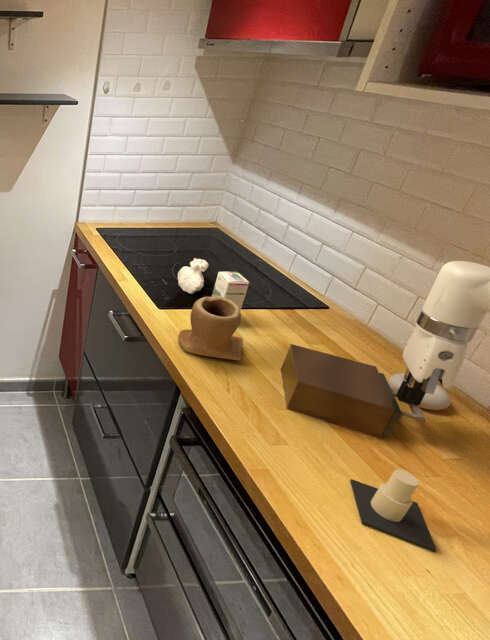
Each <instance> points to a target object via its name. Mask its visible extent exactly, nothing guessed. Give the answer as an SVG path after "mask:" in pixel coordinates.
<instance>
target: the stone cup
mask: <svg viewBox="0 0 490 640" xmlns="http://www.w3.org/2000/svg"><path fill="white" fill-rule="evenodd" d="M241 321H242V313H241V310H240V308H239V307H238V306H237V305H236V304H235V303H234V302H233V301H231V300H229V299H226V298H223V297H218V296H214V297H212V296H203V297H200V298H199V299H198V298H197V300H196V301H195V302H194V303H193V305H192V308H191V312H190V327H191V329H182V330H180V331H179V333H178V343H179V345H180V346H181V347H182V348H183V349H184V350H185V351H186V352H188V353H191V354H194V355H199V356H204V357H210V358H217V359H224V360H232V361H241V359H242V348H243V346H244V339H243V338H242V337H241V336H235V335H234V333H235V332H236V331H237V330H238V328H239V326H240V324H241Z"/></svg>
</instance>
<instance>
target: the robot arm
mask: <svg viewBox="0 0 490 640" xmlns="http://www.w3.org/2000/svg"><path fill="white" fill-rule="evenodd" d="M487 313H490V266H488V265H485V264H481V263H477V262H472V261H468V260H467V261H466V260H451V261H448V262H446V263H445V264H443V265H442V267H441V268H440V270H439V272H438V275H437V276H436V279H435V280H434V282H433V285H432V287H431V289H430V291H429V293H428V296H427V298H426V299H425V302H424V304H423V306H422V308H421V310H420V312H419V313H418V314H419V315H418V316H417V318H416V321H415V323H414V325H415V328H414V330H413V331H412V333H411V335H410V337H409V339H408V340H407V343H406V344H405V347H404V349H403V352H402V358H403V361H404V363H405V365H406V367H407V368H406V370H405V372H404V373H405V375H404V380H406V381H403V382H402V384H401V386H400V388H399V390H398V392H397V394H396V395H397V397H396V398H397V400H398V401H399V402H402V403H405V404H408V403H409V404H413V405H416V406H418V405H420V403H421V401H422V399H423V397H424V396H425V394H426V393H430V394H434V392H435V389H436V386H437V384H438V383H439V385H440V386H441V387H442V388H443V389H444V390H450V389H451V388H452V386H453V385H454V383H455V381H456V379H457V377H458V374H459V372H460V369H461V368H462V365H463V363H464V360H465V357H466V354H467V351H468V350H467V349H468V344H469V343H471V342H472V340H473V339H474V336H475V335H476V333H477V331H478V329H479V327H480V326H481V324H482V322H483V320H484V319H485V316H486V315H487ZM409 404H408V405H409Z"/></svg>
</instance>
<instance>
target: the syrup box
mask: <svg viewBox="0 0 490 640" xmlns="http://www.w3.org/2000/svg"><path fill="white" fill-rule="evenodd" d="M249 285H250V282H249V280H247V278H245V277H244V276H243V275H242V274H241V273H240V272H238V271H218V272H217V277H216V281H215V283H214V287H213V291H212V294H211V297H214V296H218V297H223V298H226V299H229V300H231V301H233V302H234V303H235V304H236V305H237V306H238V307H239V308H240V311H241V310H242V308H243V305H244V304H243V303H244V300H245V299H246V298H245V297H246V294H247V291H248V288H249Z"/></svg>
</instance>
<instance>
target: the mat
mask: <svg viewBox="0 0 490 640" xmlns="http://www.w3.org/2000/svg"><path fill="white" fill-rule="evenodd" d="M350 485H351V489H352V490H351V491H352V493H353V497H354V501H355V505H356V508H357V512H358V516H359V520H360V522H361V525H364V526H365V527H368V528H371V529H375V530H376V531H379V532H381V533H384V534H386V535H389V536H392V537H394V538H397V539H399V540H402V541H404V542H407V543H409V544H412V545H415V546H416V547H420V548H423V549H425V550H428V551H430V552H432V553H436V552H437V548H436V545H435V543H434V540H433V538H432V535H431V532H430V530H429V527H428V526H427V525H428V524H427V523H426V520H425V518H424V515H423V513H422V511H421V508H420V506H419V503H418V502H416V501H413V500H412V505H411V506H410V508H409V510H408V511H407V513H406V514H405V516H404V517H403V519H402V520H401V521H399V522H394V521H390V520H388V519H386V518H384V517H382V516H381V515H379V514H378V513H377V512H376V511H375V510H374V509H373V508H372V506H371V500H372V498H373V497H374V495H375V493H376V492H377V490H378V488H379V487H378V488H377V487H375V486H372V485H369V484H366V483H363V482H361V481H358V480H356V479H354V478H353V479H352V478H351V479H350Z"/></svg>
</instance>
